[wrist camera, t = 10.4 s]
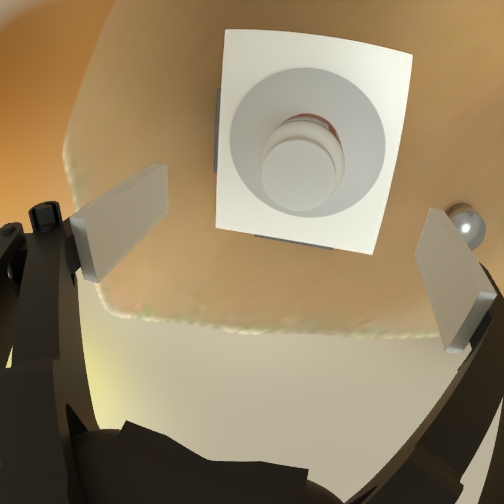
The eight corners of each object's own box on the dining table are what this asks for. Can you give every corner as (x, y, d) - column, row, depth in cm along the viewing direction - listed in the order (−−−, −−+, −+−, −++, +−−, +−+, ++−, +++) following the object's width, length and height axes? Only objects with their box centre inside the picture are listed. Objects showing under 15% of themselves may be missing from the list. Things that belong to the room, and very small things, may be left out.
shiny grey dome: (448, 199, 31) (457, 209, 29) (481, 207, 31) (491, 218, 28) (437, 236, 34) (444, 248, 31) (468, 243, 33) (477, 255, 31)
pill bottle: (331, 182, 30) (333, 233, 20) (270, 167, 30) (242, 211, 21) (347, 121, 26) (359, 142, 17) (281, 105, 27) (257, 118, 18)
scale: (229, 33, 27) (216, 27, 24) (405, 57, 25) (416, 54, 21) (219, 220, 39) (208, 235, 36) (368, 245, 37) (372, 264, 33)
